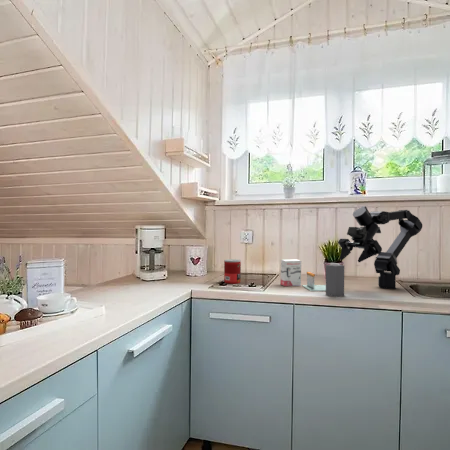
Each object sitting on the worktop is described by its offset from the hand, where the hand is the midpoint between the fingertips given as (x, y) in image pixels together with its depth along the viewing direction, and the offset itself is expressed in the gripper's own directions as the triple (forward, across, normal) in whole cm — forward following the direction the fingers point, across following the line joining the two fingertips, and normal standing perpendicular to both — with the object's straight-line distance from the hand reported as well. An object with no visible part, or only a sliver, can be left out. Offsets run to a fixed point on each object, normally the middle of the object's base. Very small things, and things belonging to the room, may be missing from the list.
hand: (349, 260), depth 146 cm
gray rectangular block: (+16, 0, +4) cm, 16 cm away
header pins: (+14, -16, +5) cm, 21 cm away
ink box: (+16, -26, +3) cm, 31 cm away
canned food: (+30, -46, -11) cm, 56 cm away
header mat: (+11, -14, +8) cm, 19 cm away
